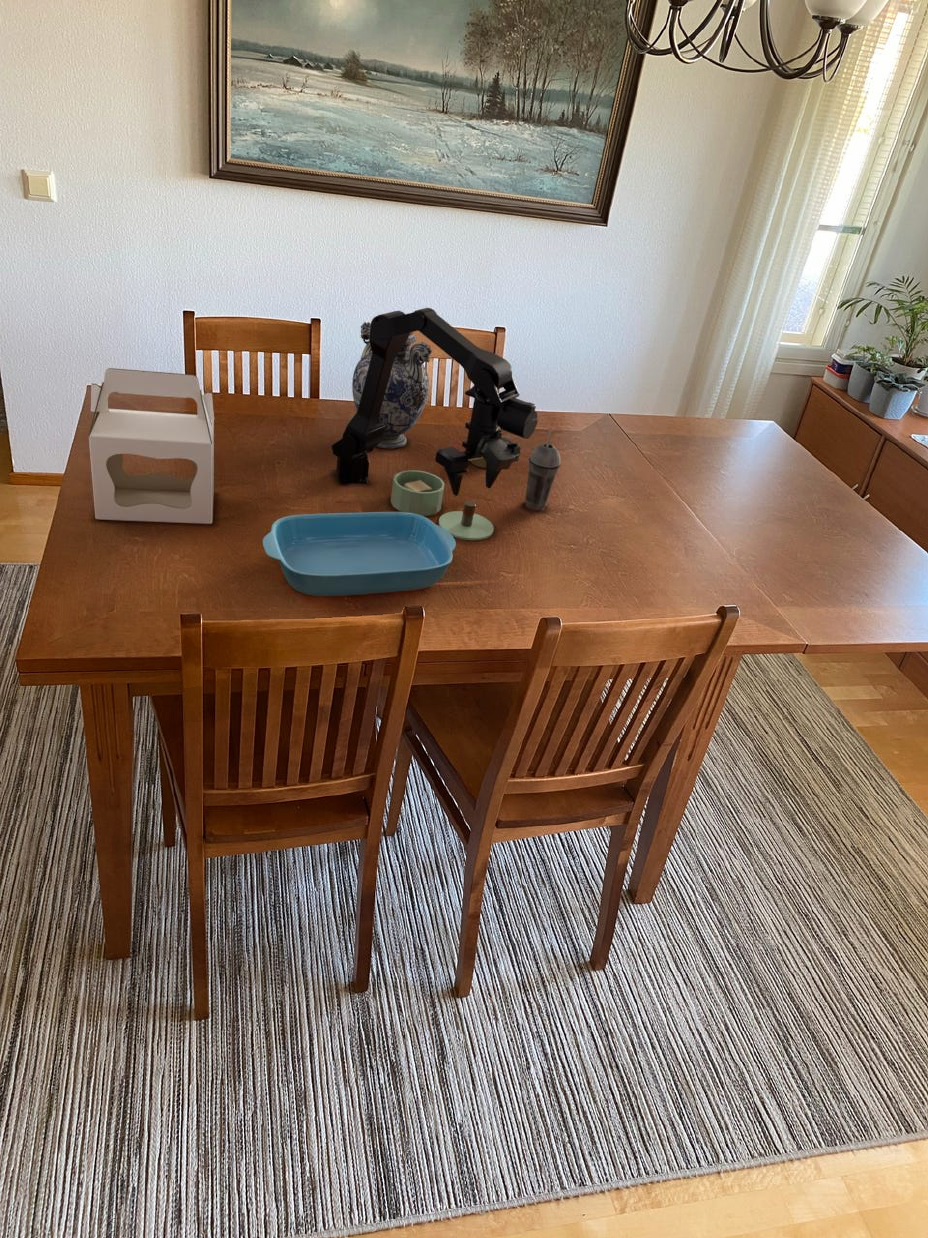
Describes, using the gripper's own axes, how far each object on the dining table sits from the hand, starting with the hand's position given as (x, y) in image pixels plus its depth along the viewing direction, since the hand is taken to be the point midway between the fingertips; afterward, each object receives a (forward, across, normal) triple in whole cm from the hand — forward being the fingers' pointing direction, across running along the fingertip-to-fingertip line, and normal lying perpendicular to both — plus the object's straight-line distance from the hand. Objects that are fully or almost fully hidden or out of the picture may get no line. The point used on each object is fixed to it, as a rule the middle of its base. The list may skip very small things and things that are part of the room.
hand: (471, 491), depth 188 cm
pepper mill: (+9, +27, +25) cm, 38 cm away
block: (+9, -4, +13) cm, 16 cm away
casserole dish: (+9, -31, -5) cm, 33 cm away
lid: (+8, 0, 0) cm, 9 cm away
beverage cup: (+9, +22, +1) cm, 24 cm away
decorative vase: (+9, +11, +45) cm, 47 cm away
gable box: (+9, -54, +34) cm, 64 cm away
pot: (+9, -4, +13) cm, 16 cm away
